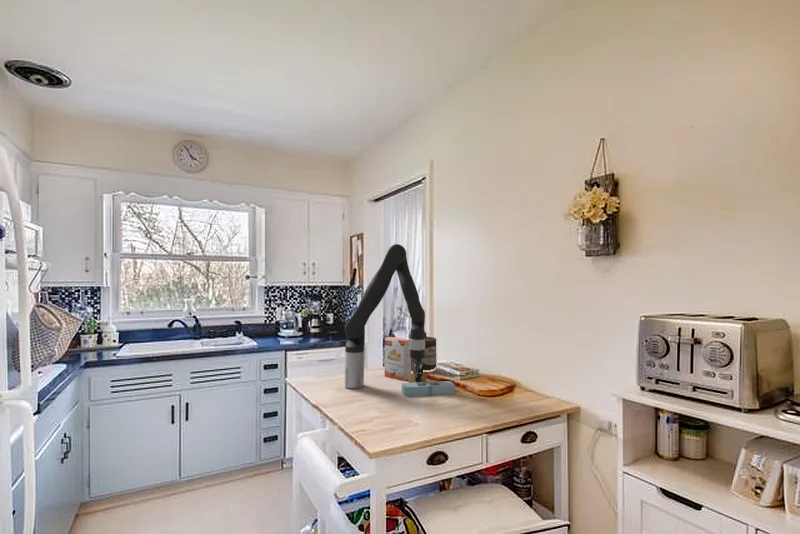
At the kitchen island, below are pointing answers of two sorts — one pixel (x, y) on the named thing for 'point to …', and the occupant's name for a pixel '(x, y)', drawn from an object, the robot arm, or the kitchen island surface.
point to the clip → (413, 378)
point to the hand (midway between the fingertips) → (417, 382)
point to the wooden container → (429, 354)
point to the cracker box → (397, 358)
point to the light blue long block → (428, 388)
